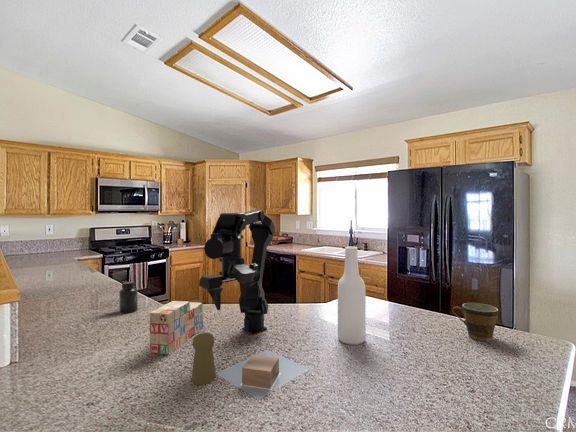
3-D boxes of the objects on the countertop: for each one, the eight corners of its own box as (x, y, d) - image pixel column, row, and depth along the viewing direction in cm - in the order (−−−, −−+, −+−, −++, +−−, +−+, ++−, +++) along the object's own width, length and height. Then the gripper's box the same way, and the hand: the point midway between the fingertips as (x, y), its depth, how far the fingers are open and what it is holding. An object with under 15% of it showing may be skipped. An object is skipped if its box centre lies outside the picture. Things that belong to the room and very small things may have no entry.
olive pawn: (194, 373, 79) (193, 330, 79) (218, 372, 79) (217, 329, 79) (188, 386, 73) (188, 340, 73) (214, 385, 73) (214, 339, 73)
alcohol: (332, 337, 102) (332, 246, 101) (354, 332, 105) (354, 245, 105) (347, 347, 94) (347, 249, 93) (371, 342, 97) (371, 247, 97)
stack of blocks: (187, 327, 111) (187, 293, 111) (203, 328, 110) (203, 294, 110) (149, 353, 90) (149, 311, 90) (168, 355, 89) (168, 313, 89)
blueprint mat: (266, 351, 91) (266, 349, 91) (309, 369, 80) (309, 368, 80) (214, 374, 78) (214, 373, 78) (258, 400, 67) (258, 399, 67)
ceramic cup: (495, 334, 103) (495, 304, 103) (501, 346, 94) (501, 313, 94) (451, 328, 109) (451, 300, 109) (453, 339, 100) (453, 308, 100)
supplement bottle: (132, 307, 135) (132, 280, 135) (140, 310, 131) (140, 282, 131) (116, 311, 129) (116, 283, 129) (124, 314, 125) (124, 285, 125)
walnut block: (253, 370, 80) (253, 354, 80) (279, 373, 78) (278, 357, 78) (242, 384, 73) (242, 367, 73) (270, 388, 71) (270, 371, 71)
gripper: (220, 260, 80) (221, 320, 80) (272, 254, 94) (272, 305, 94) (198, 256, 88) (198, 311, 88) (249, 251, 101) (249, 298, 101)
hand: (231, 306), depth 92 cm, fingers open, 9 cm apart
